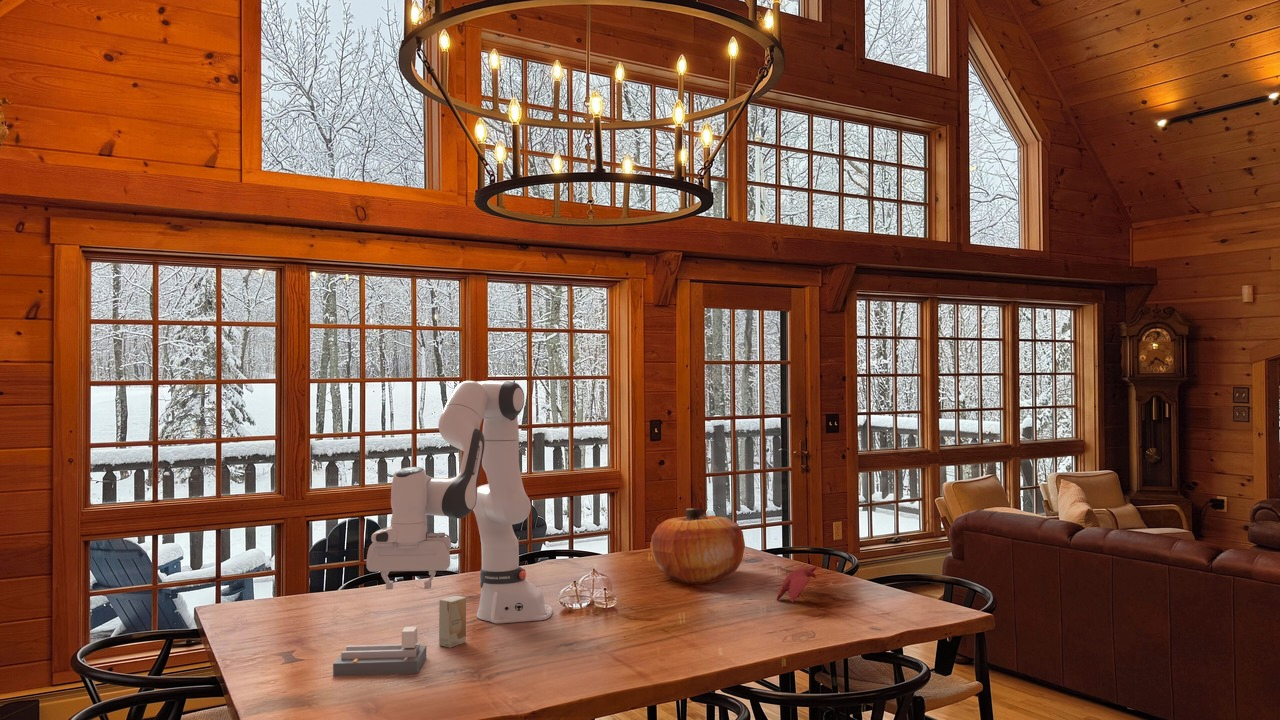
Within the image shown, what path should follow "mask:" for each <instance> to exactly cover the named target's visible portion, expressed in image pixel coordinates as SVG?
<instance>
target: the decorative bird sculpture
mask: <svg viewBox="0 0 1280 720" xmlns="http://www.w3.org/2000/svg"><path fill="white" fill-rule="evenodd" d="M816 569H817V566H811V567H810V566H809V567H803V568H798V569H795V570H793V571H791V572H790V573H788V575H787V576H786V577H785V579H784V580H783V583H782V586H781V587H780V590H779V592H778V593H777V596H776V601H779V600H780V599H781V598H782V597H783V596H784V595H785V593H788V594H789V595H788V596H789V602H792V603H794V602H796V600H797V599H798V598H799V599H800V600H802V603H804V602H806V601H807V599H808V598H809V597H805V596H804V595H803V594H802V591H804V590H805V588H806V586H807V585H808V583H809V581H810V578H811V577H812V578H813V579H816V578H817V575H816V574H815V573H814V572H815V571H816Z"/></svg>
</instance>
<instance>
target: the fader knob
mask: <svg viewBox="0 0 1280 720" xmlns="http://www.w3.org/2000/svg"><path fill="white" fill-rule="evenodd" d="M401 644H402V648H401V649H400V650H405V649H416V654H417V653H418V651H419V646H415V645H416V644H418V627H417V626H404V628H403V629H402V631H401Z"/></svg>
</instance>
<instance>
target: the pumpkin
mask: <svg viewBox="0 0 1280 720" xmlns="http://www.w3.org/2000/svg"><path fill="white" fill-rule="evenodd" d="M685 515H686V516H680V517H672V518H668V519H665V520H664V521H662V522H661V523H660V524H658V525H657V526H656V527H655V529H654V531H653V533H652V534H651V537H650V538H651V541H650V550H651V553H652V558H653V561H654V562H655V563H656V566H658V568H659V570H660V572H661V573H663V574H664V575H666V576H668V577H669V578H670V579H672V580H673V581H675V582H677V583H678V582H679V583H684V584H689V585H690V584H691V585H701V584H709V583H710V584H711V583H717V582H720V581H723V580H724V579H725V578H727V577H728V576H729V575H731V574H733V573H734V572H736V571H737V570H738V568H739V567H740V565H741V564H742V562H743V557H744V553H745V547H746V544H745V538H744V532H743V530H742V528H741V526H740V525H739V524H738V523H736V522H735V521H734V520H731V519H729V517H726V516H725V517H724V516H713V515H707V514H706V512H705V510H704V509H702V508H691V507H690V508H685Z"/></svg>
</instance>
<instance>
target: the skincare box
mask: <svg viewBox="0 0 1280 720" xmlns="http://www.w3.org/2000/svg"><path fill="white" fill-rule="evenodd" d="M438 604H439V606H438V608H439V611H438V613H439V615H438V617H439V618H438V619H439V620H438V621H439V623H438V624H439V626H438V627H439V629H438V646H442V647H447V648H453V647H456V646H460V645H462V644H465V643H466V642H467V597H465V596H461V595H460V596H459V595H453V596H449V597H445V598H441V599H439V603H438Z"/></svg>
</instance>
